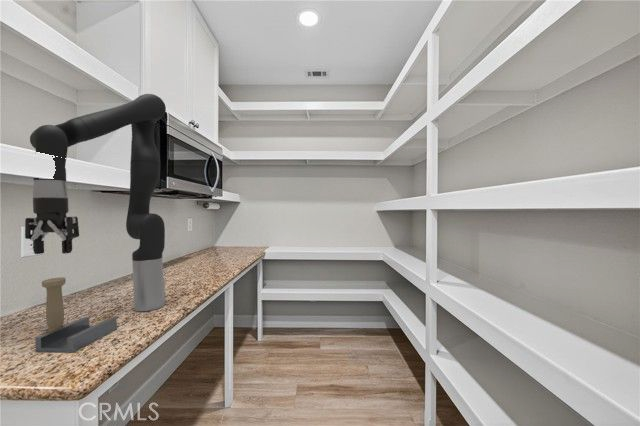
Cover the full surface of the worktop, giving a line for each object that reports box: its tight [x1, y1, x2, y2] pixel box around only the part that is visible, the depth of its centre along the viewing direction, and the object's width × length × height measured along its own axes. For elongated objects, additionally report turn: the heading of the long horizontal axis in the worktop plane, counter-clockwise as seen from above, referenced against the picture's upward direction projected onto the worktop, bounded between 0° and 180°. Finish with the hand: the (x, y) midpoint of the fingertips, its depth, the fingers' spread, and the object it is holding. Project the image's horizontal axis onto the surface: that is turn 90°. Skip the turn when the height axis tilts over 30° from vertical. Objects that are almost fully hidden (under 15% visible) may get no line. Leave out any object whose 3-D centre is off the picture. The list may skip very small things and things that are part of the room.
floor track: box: [34, 316, 118, 353], centre depth 80 cm, size 14×10×4 cm
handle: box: [41, 276, 67, 333], centre depth 86 cm, size 5×6×15 cm
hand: (52, 253), depth 86 cm, fingers open, 8 cm apart
